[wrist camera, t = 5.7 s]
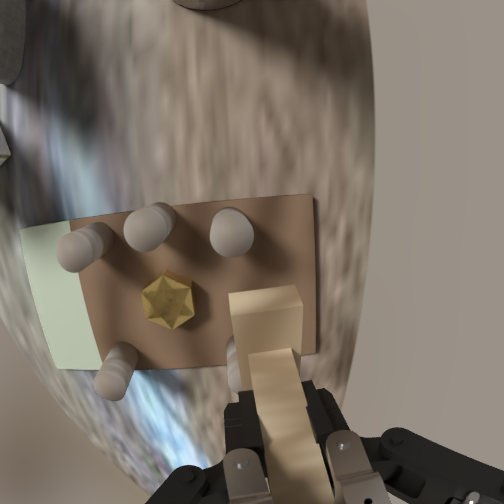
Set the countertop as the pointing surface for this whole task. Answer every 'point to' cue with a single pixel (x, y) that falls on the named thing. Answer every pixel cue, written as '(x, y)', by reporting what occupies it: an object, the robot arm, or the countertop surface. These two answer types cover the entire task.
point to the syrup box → (3, 148)
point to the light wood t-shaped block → (279, 391)
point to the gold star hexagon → (169, 299)
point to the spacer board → (192, 267)
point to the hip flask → (11, 39)
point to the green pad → (59, 299)
